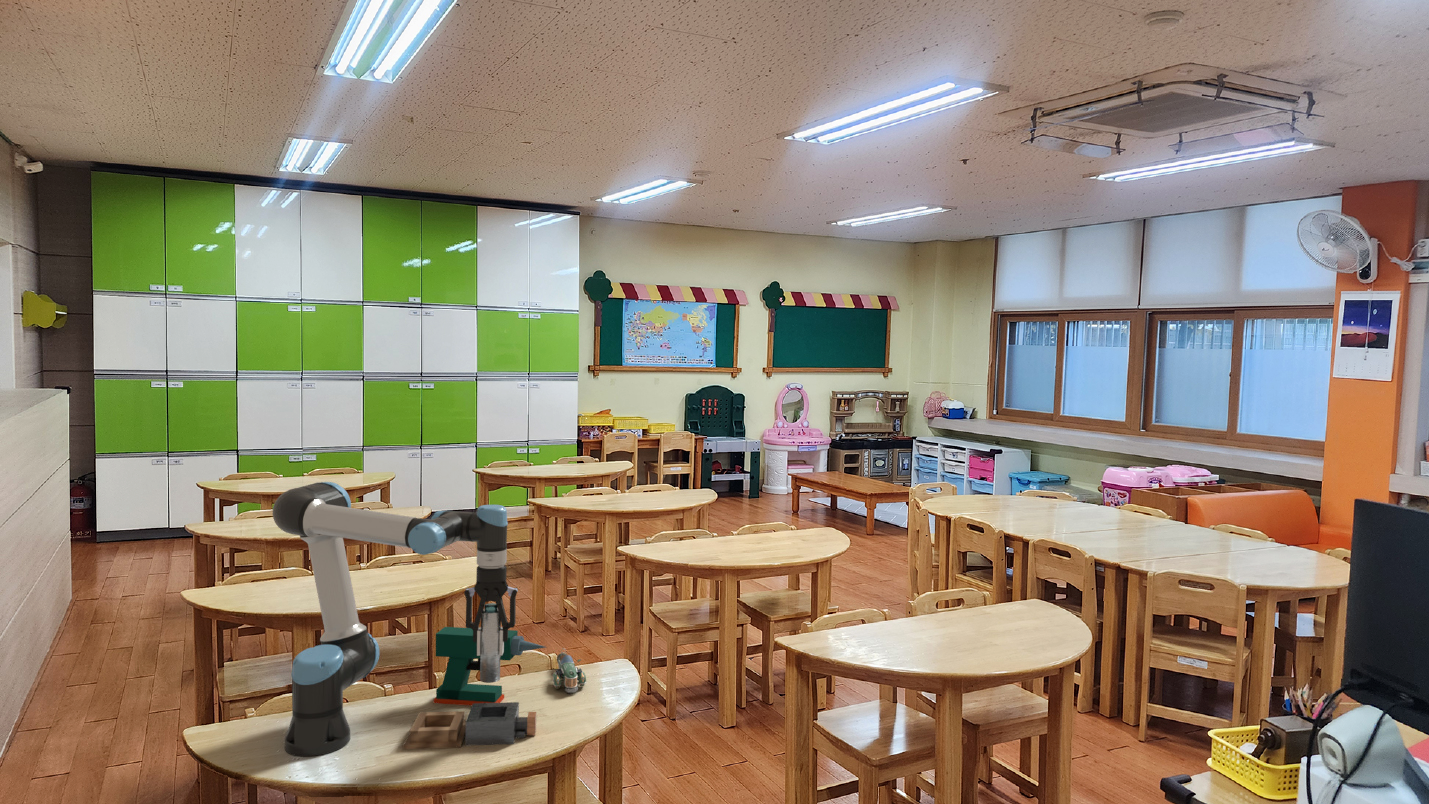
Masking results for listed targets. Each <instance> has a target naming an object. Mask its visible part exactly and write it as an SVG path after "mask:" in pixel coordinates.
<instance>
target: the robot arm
mask: <svg viewBox="0 0 1429 804" xmlns="http://www.w3.org/2000/svg"><path fill="white" fill-rule="evenodd" d="M430 518H431V519H428V518H422V517H421V518H420V517H416V516H415V517H414V516H408V515H407V516H406V515H400V514H396V513H395V514H394V513H388V512H381V511H376V510H375V511H373V510H367V509H362V508H356V507H353V508H352V501H351V497H350V495H349V493H348V492H347V490H346V489H345V488H344V487H342V486H341V485H339V484H338V483H335V482H332V481H321V482H320V481H319V482H314V483H312V484H306V485H304V486H299V487H293V488H290V489H288V490H286V491H284V492H282V494H281V495H279V496H278V497H277V498H276V500H275V502H274V504H273V507H272V520H273V521H274V523H275V524H276V525H275V526H277V528H278V529H280V531H282V532H285V533H286V534H290V535H294V536H299V538H300V539H301V540H302V541H303V542H305V543H307V546H308V551H309V557H310V561H311V566H312V571H313V577H314V578H313V579H314V581H315V582H314V583H315V586H316V593H317V596H318V597H317V598H318V603H319V607H320V612H321V619H322V623H323V629H324V632H323V634H322V636H320V638H319V641H320V644H319V645H315V646H314V647H308V648H306V649H303V650H302V651H300V652H299V653H298V654H297V655H296V656H295V657H294V658H293V660H292V667H291V668H292V669H291V674H290V675H291V694H292V695H291V702H292V703H291V704H292V707H291V709H292V710H291V711H292V713H291V715H292V717H291V719H290V723H289V725H288V728H287V731H286V734H285V738H284V749H285V752H286V753H288V754H290V755H293V756H298V757H315V756H321V755H324V754H329V753H332V752H335V751H338V750H340V749H341V748H343V747H345V746H347V744H348V743H350V740H351V728H350V725H349V722H348V720H347V717H346V714H345V712H344V697H343V696H344V694H343V693H344V691H345V690H346V689H348V688H349V687H351V686H352V685H354V684H355V683H357V682H359V681H361V680H363V679H364V678H367V676H368V675H369V674H370V673H371V672H372V671H373V670H374V669H375V668H376V667H377V664H378V663H379V659H380V647H379V643H378V641H377V640H376V638H375V637H372V634H370V633H369V632H368V629H367V626H366V625H364V623H361V622H360V619H359V615H358V614H359V613H358V609H357V603H356V599H355V594H354V590H353V589H354V588H353V584H352V578H351V575H350V568H349V563H348V558H347V553H346V548H345V541H344V539H350V540H355V541H362V542H368V543H375V544H376V543H377V544H382V545H388V546H393V547H402V548H408V549H411V550H412V551H414V553H415V554H418V555H423V556H424V555H425V556H426V555H429V554H430V555H431V554H434V553H436V552H438V551H439V550H441V549H444V548H445V547H447V546H450V545H452V544H454V543H456V542H472V543H476V565H477V567H476V581H475V585H474V586H472V587H466V589H464V591H463V593H464V597H465V600H466V601H465V628H471V629H472V630H473V642H477V656H480V654H481V627H479V626H480V625H481V615H482V612H483V610H484V609H485V604H486V603H488V602H489V603H490V602H492V603H495V604H496V605H497V609H498V612H499V616H500V620H501V629H500V652H499V655H503V652H504V642H507V640H508V630H510V629H511V628H513V629H514V627H515V625H516V622H517V621H516V619H517V617H516V616H517V615H516V610H517V609H516V608H517V607H516V599H517V598H516V596H517V593H518V591H519V589H518V588H517V587H511V586H509V584H508V581H507V566H506V565H507V563H508V561H507V560H508V559H507V558H508V555H507V554H508V545H507V543H508V540H507V539H508V525H509V521H508V510H507V508H506V507H505V506H504V505H500V504H484V505H483V504H482V505H480V506H478V508H477V510H476V512H470V511H455V510H454V511H453V510H448V509H447V510H438V511H435V512H434V514H433V515H432V516H431V517H430ZM475 593H476V594H477V595H478V597H479V599H480V600H479V604H478V608H477V610H476V611H477V612H476V615H475V618H474V622H473V598H474V595H475ZM506 593H508V597H509V621H508V618H507V614H506V610H505V605H504V602H503V601H504V600H503V597H504V595H505V594H506Z"/></svg>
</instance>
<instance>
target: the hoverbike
mask: <svg viewBox="0 0 1429 804" xmlns="http://www.w3.org/2000/svg"><path fill="white" fill-rule="evenodd" d="M564 650H565V651H567V650H566V648H564ZM562 651H563V649H561V650H560V653H559V654H558V655H557V656H556V661H557V664H558V668H557V669H556V670H555V671H554V672H553V673H552V682H553V686H554V688H555V689H556V690H558V689H560V687H561V686H563V685H564V687H565V688H564V691H565V692H566V694H567V695H569V694H570V693H573V695H575V694H576V693H577V692H578V690H579V687H578V684H579V686H580V687H581V688H583V687H584V686H585V684H587V677H586V674H585V672H584V671H583V670H582V668H581V667H580V668H578V666H575V665H576V664H577V663H579V662H580V661H582V659H577V662H576V663H575V662H574V659H573V657H572V656H571V655H570V654H567V652H565V651H563V652H562ZM562 682H563V685H562Z"/></svg>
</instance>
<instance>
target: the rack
mask: <svg viewBox="0 0 1429 804" xmlns="http://www.w3.org/2000/svg"><path fill="white" fill-rule="evenodd" d="M466 720H467V719H466ZM466 720H465V711H464V710H463V711H431V712H428V711H427V712H426V711H425V712H424V711H423V712H419V713H418V714H417V717H416V718H415V720H414V721H413V724H412V726H411V728H410V729H409V734H408V736H407V738H406V739H405V742H404V744H403V745H402V746H403V750H418V749H421V750H424V749H425V750H426V749H448V748H449V749H451V748H452V749H453V748H455V749H456V748H462V745H463V742H464V740H465V739H466Z"/></svg>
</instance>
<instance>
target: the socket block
mask: <svg viewBox="0 0 1429 804" xmlns="http://www.w3.org/2000/svg"><path fill="white" fill-rule="evenodd" d="M519 713H520V702H519V701H515V702H513V701H511V702H507V701H506V702H500V703H473V705H471V708H470V710H469V713H468V716H467V718H466V735H465V746H487V745H489V746H490V745H493V746H495V745H514V744H515V741H516V739H525V737H526V735H525V731H516V717H520V714H519Z"/></svg>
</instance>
